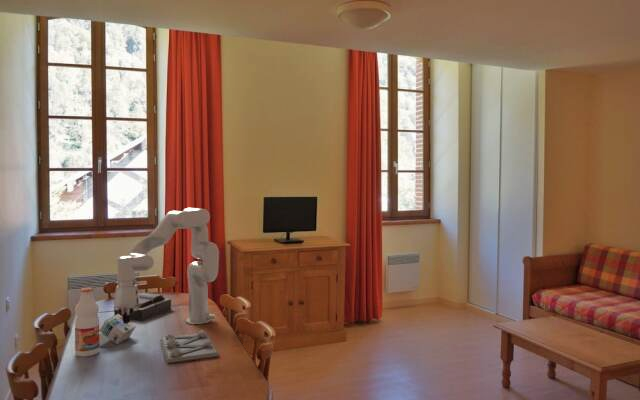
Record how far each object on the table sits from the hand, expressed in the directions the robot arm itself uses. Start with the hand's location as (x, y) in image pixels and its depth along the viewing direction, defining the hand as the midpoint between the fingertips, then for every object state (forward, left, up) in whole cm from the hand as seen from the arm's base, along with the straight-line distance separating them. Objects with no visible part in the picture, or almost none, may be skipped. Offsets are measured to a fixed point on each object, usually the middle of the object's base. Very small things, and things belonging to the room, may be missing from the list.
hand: (126, 322), depth 222 cm
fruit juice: (+10, +15, -9) cm, 21 cm away
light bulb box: (0, 0, -6) cm, 6 cm away
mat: (+10, 0, -9) cm, 13 cm away
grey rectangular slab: (-31, +7, -10) cm, 33 cm away
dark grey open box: (+11, -45, -9) cm, 47 cm away
